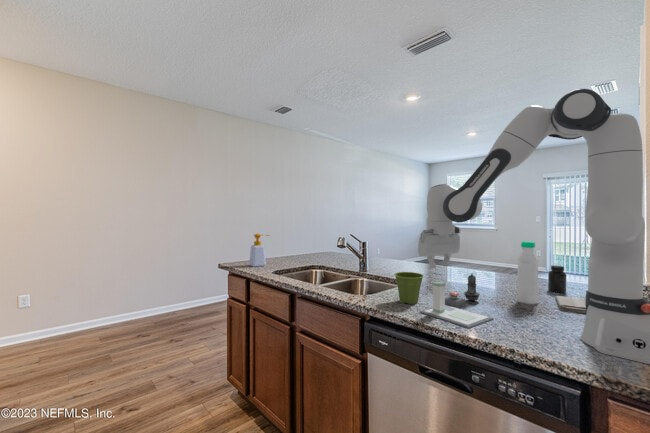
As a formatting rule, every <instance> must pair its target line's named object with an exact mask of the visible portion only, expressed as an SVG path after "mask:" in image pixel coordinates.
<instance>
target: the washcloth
mask: <svg viewBox="0 0 650 433" xmlns="http://www.w3.org/2000/svg"><path fill="white" fill-rule="evenodd" d="M555 301H556V305H557V306H558V309H559V310H560V311H564V312H568V311H570V313H575V312H577V314H583V313H585V315H586V314H587V310H586V306H585V298H584V297H570V296H561V295H556V296H555Z"/></svg>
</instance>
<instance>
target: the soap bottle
mask: <svg viewBox="0 0 650 433" xmlns="http://www.w3.org/2000/svg"><path fill="white" fill-rule="evenodd" d="M261 236H262V234H260V233H255V234H253V237H254V238H255V239H256V241H255V240H254V242H253V244H252V245H250V254H249V263H248V264H249V266H251V267H254V268H257V267H264V266H265V267H266V265H267V263H266V254H265V253H266V252H265V246H264V245H262V241H261V240H259V239H261ZM266 236H267V237H270V234H266Z"/></svg>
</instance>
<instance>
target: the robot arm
mask: <svg viewBox="0 0 650 433" xmlns="http://www.w3.org/2000/svg"><path fill="white" fill-rule="evenodd" d="M547 137H550V138H551V137H552V138H557V139H562V140H576V139H580V138H583V139H584V140H585V141H586V145H587V194H586V203H585V205H586V206H585V217H584V218H585V219H584V220H585V221H584V223H585V224H584V227H585V230H586V232H587V234H588V236H589V237H590V238H591V241H590V250H589V258H588V263H587V266H588V269H587V270H588V272H587V273H588V274H587V277H588V278H587V290H586V291H585V298H584V299H585V306H586V310H587V314H585V321H584V324H583V325H584V326H583V328H582V332H581V334H580V337H579V339H580V340H581V341H582V342H583V343H585V344H586V345H589V346H591V347H593V348H594V349H595V350H596V351H598V352H599V353H602V354H604V355H610V356H613V357H616V358H617V357H618V358H621V359H626V360H629V361H634V362H639V363H641V364H646V365H650V300H648V299H647V298H645V297H643V295H644V294H643V293H644V292H643V291H644V286H643V285H644V259H645V258H644V256H645V235H646V234H645V232H646V228H645V227H646V221H645V219H644V217H643V191H644V190H643V189H644V185H643V184H644V174H643V173H644V170H643V169H644V167H643V166H644V162H643V159H644V156H643V140H642V139H643V138H642V134H641V129H640V125H639V123H638V119H637V118H636V117H635V116H634V115H631V114H629V113H624V112H623V113H621V112H620V113H618V112H617V113H612V109H611V107H610V106H609V105H608V104H607V103H606V101H605V100H604V98H602V97H601V95H600V94H599V93H598V92H596V91H595V90H593V89H589V88H579V89H574V90H571V91H570V92H568V93H566V94H564V95H563V96H561V98H560V99H559V100H558V101H557V102H556V104H555V105H554V107H552V108H546V107H543V106H540V105H529V106H527V107H525V108H523V109H522V110H521V111H520V112H519V113H518V114H517V115H516V116H515V117H514V118H513V119H512V120H510V122H509V123H508V124H507V125H506V127H505V128H504V129H503V130H502V132H500V134H499V135H498V137H497V138H496V140H495V142H493V145H492V146H491V148H490V150H489V152H488V153H487V154H486V156H485V158H484V160H483V161H482V162H481V163H480V165H479V166H478V167H477V168H476V169H475V170H474V172H473V173H472V174H471V175H470V177H469V178H468V179H467V180H466V181H465V183H464V184H463V185H462V186H460V187H459V188H456V187H454V186H452V185H451V184H449V183H443V184H437V185H434V186H431V187H430V188H428V192H427V197H426V211H427V218H426V229H423V230H422V231H421V233H420V236H419V238H418V245H417V246H418V247H417V254H418V256H419V257H425V258H426V259H427V262H428V264H429V266H428V267H429V268H430V269H437V263H436V262H435V256H442V255H443V261H441V262H442V263H441V265H442V266H443V267H448V266H450V264H449V263H450V260H451V258H452V254H458V253H459V252H460V248H461V247H460V246H461V244H460V243H461V238H460V235H459V234H461V228H460V227H459V226H456V225H455V224H453V222H455V223H464V222H467V221H471V220H474V219H475V218H477V217H478V216H480V214H481V213H482V211H483V203H482V200H481V198H482V196H483V195H484V194H485V193H486V191H487V190H488V189H489V187H491V185H492V184H493V183H494V182H495V180H497V179H498V177H500V176H502V174H504V173H506V172H508V171H510V170H512V169H515V168H517V167H519V166H520V165H521V164H522V163H524V162H525V161H526V160H527V159H528V158H529V157H531V155H532V154H533V152H534V151H535V150H536V149H537V148H538V147H539V145H540V144H541V143H542V142H543V141H544V140H545V138H547Z"/></svg>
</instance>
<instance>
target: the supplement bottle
mask: <svg viewBox="0 0 650 433" xmlns="http://www.w3.org/2000/svg"><path fill="white" fill-rule="evenodd" d="M564 271H565V267H564V266H563V265H550V271H549V272H548V275H547V276H548V277H547V279H548V280H547V289H548V291H549V292H550V291H551V292H550V293H554V292H555V294H566V293H567V274H566V272H564Z"/></svg>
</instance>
